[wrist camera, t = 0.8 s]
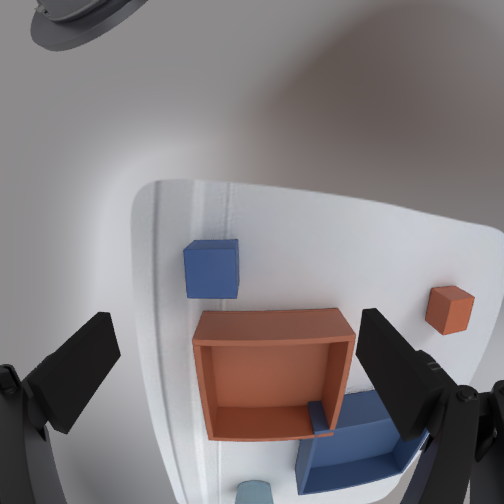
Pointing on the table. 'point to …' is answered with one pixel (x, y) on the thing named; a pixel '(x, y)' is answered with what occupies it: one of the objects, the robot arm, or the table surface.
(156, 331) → the table surface
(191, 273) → the blue block
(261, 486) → the cup
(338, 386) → the terracotta bin
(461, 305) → the terracotta block
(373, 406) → the blue bin
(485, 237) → the table surface
